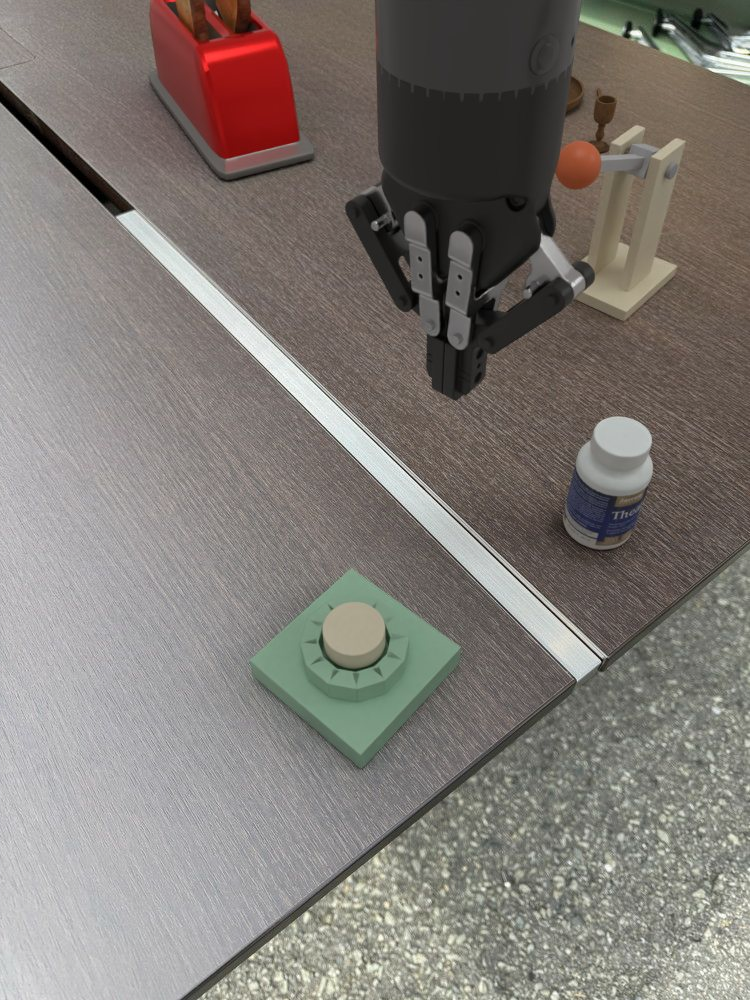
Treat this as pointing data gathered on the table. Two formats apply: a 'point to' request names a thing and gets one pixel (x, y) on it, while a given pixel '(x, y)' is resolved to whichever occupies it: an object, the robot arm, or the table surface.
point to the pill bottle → (609, 483)
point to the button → (354, 635)
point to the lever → (599, 163)
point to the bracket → (633, 268)
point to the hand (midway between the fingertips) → (454, 386)
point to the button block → (356, 671)
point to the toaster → (226, 85)
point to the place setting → (601, 111)
